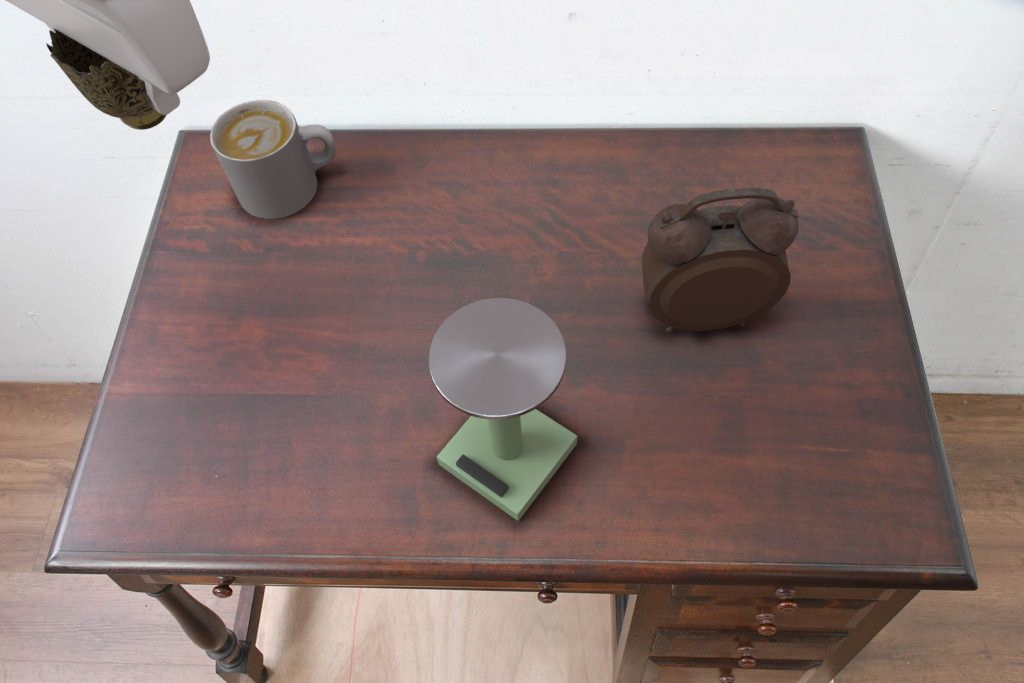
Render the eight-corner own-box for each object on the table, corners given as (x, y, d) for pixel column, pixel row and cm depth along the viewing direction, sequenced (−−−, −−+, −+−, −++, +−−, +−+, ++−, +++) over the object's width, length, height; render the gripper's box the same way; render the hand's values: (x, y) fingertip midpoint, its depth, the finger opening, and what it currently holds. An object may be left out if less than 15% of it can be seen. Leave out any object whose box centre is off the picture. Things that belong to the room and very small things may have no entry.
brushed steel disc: (512, 451, 61) (511, 443, 59) (403, 378, 64) (400, 368, 63) (592, 350, 65) (593, 340, 64) (486, 287, 69) (485, 276, 67)
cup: (81, 143, 61) (24, 56, 54) (126, 80, 65) (78, -9, 58) (169, 157, 60) (122, 70, 53) (210, 92, 64) (171, 3, 57)
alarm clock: (756, 280, 90) (805, 153, 73) (772, 334, 86) (827, 213, 69) (628, 291, 90) (647, 165, 73) (638, 345, 86) (661, 226, 69)
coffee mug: (235, 222, 98) (205, 165, 89) (241, 163, 103) (214, 103, 94) (343, 212, 98) (324, 153, 89) (345, 153, 103) (326, 93, 95)
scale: (518, 521, 77) (511, 447, 62) (438, 464, 80) (413, 381, 65) (577, 444, 81) (583, 357, 66) (498, 393, 84) (487, 299, 69)
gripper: (-110, -123, 50) (13, 59, 62) (93, -15, 44) (188, 166, 55) (-24, -166, 53) (79, 16, 65) (181, -71, 46) (254, 114, 58)
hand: (131, 86), depth 60 cm, fingers closed on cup, 7 cm apart
